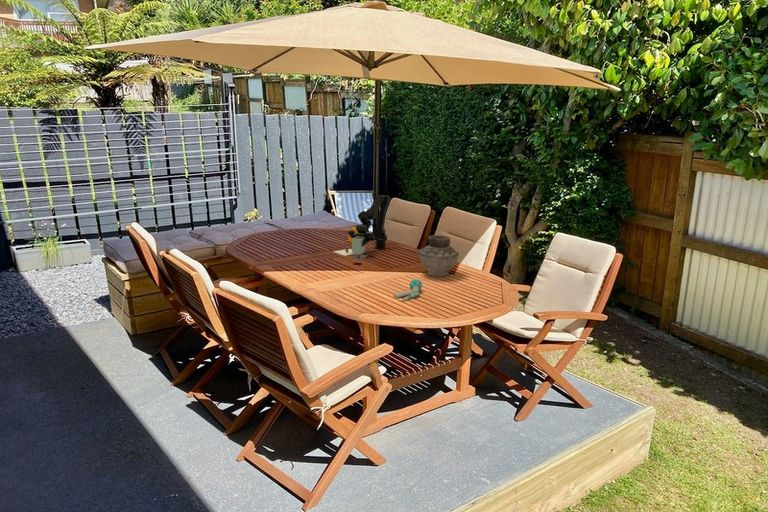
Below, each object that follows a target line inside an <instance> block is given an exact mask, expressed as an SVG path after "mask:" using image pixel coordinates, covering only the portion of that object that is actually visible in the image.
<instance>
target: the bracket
mask: <svg viewBox="0 0 768 512" xmlns="http://www.w3.org/2000/svg"><path fill="white" fill-rule="evenodd" d="M355 229H356V226H355V227H351V228H350V229H349V231H355V232H356V233H358V232H357V230H355ZM347 237H348V238H347V241H348V242H349V243H350V242H352V239H353V238H351V237H350V235H349V234H348V236H347ZM357 237H359V236H357Z"/></svg>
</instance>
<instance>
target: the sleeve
mask: <svg viewBox="0 0 768 512" xmlns="http://www.w3.org/2000/svg"><path fill="white" fill-rule="evenodd" d="M363 241H364V237H360V236H358V237H355V238H353V239H352V243H351V246H352V248H351V250H352V253H356V254H361V255H363V254H365V252H366V244H365V245H364V246H363V247H362V243H363Z"/></svg>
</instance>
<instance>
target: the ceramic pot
mask: <svg viewBox="0 0 768 512" xmlns="http://www.w3.org/2000/svg"><path fill="white" fill-rule="evenodd" d="M427 240H428V245H426V246H424V247H423V248H422V249H420V250H419V251H418V258H419V261H420V263H421V265H422V266H423V268H425V269H426V270H427V275H428V276H431V277H436V278H437V277H445V276H449V273H450V270H451V269H452V268H453V267H454V266H455V265H456V263H457V262H458V259H459V255H460V252H459V251H458V250H456V249H455V248H454V247H453V246H451V245H450V243H451V237H450V236H449V235H448V236H447V235H438V234H437V235H435V234H434V235H429V236H428V239H427Z"/></svg>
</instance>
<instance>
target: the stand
mask: <svg viewBox="0 0 768 512" xmlns="http://www.w3.org/2000/svg"><path fill="white" fill-rule="evenodd" d="M368 256H369V255H367V254H351V255H350V256H349V258H354V259H360V260H361V259H364V258H367V257H368Z"/></svg>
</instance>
